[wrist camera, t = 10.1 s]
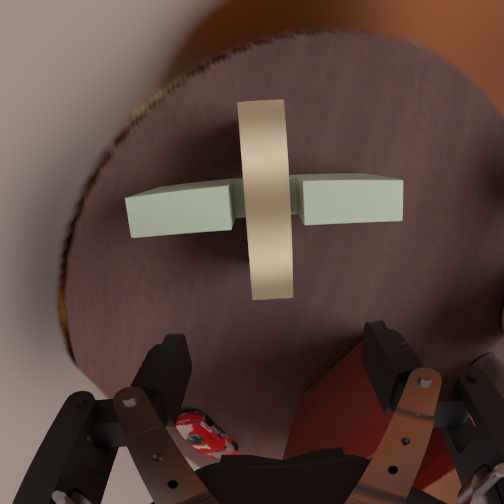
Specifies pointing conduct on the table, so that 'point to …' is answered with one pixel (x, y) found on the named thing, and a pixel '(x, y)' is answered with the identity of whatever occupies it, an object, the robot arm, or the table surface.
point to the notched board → (233, 203)
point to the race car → (204, 435)
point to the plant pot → (355, 420)
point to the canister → (503, 319)
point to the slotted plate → (267, 197)
